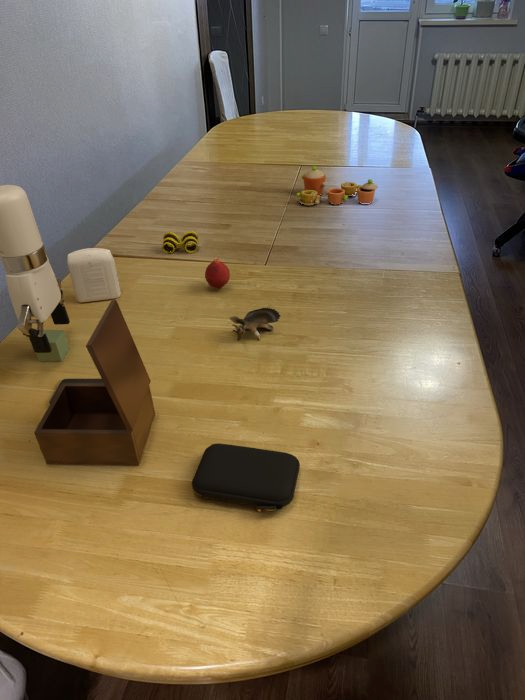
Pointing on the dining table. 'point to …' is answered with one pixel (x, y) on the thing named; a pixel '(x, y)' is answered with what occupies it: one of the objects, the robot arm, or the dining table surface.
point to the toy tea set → (316, 183)
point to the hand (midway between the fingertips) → (53, 337)
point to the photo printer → (93, 274)
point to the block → (55, 346)
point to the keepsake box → (91, 428)
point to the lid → (119, 364)
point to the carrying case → (247, 476)
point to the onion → (217, 274)
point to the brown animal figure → (255, 321)
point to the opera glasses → (173, 242)
